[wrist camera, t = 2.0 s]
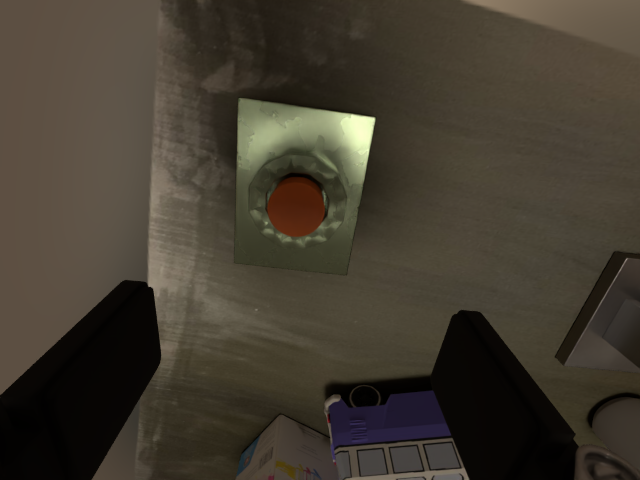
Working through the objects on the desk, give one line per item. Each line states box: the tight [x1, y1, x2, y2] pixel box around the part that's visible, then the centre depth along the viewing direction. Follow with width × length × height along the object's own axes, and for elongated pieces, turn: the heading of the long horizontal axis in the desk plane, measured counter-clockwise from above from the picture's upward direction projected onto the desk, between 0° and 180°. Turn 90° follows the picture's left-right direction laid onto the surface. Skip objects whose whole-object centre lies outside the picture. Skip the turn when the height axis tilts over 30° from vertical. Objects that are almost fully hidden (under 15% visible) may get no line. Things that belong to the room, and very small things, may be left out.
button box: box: [234, 97, 376, 275], centre depth 23 cm, size 12×9×4 cm
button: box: [267, 176, 325, 237], centre depth 20 cm, size 4×4×2 cm
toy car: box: [324, 385, 469, 480], centre depth 30 cm, size 10×22×10 cm, turn 97°
